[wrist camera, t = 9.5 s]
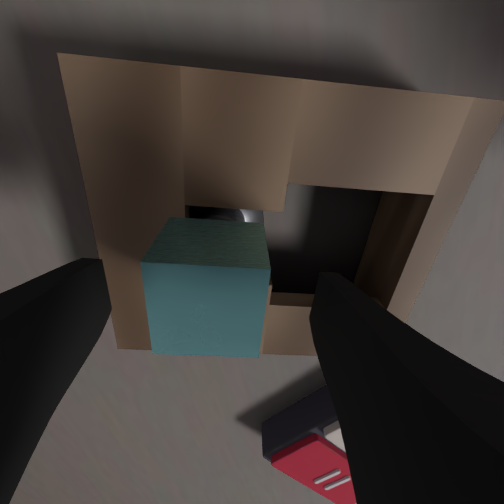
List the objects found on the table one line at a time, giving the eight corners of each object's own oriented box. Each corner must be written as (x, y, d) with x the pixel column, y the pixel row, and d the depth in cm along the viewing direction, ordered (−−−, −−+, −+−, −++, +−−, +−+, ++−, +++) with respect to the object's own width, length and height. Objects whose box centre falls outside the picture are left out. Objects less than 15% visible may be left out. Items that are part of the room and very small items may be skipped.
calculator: (383, 403, 18) (482, 489, 22) (359, 352, 21) (448, 434, 26) (260, 467, 21) (368, 530, 26) (259, 413, 25) (353, 476, 30)
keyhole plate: (432, 102, 12) (509, 101, 9) (360, 308, 18) (389, 358, 14) (114, 69, 11) (56, 52, 8) (143, 298, 17) (117, 348, 13)
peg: (265, 177, 14) (288, 256, 7) (258, 247, 16) (270, 366, 8) (185, 171, 13) (120, 246, 6) (187, 243, 15) (140, 362, 8)
